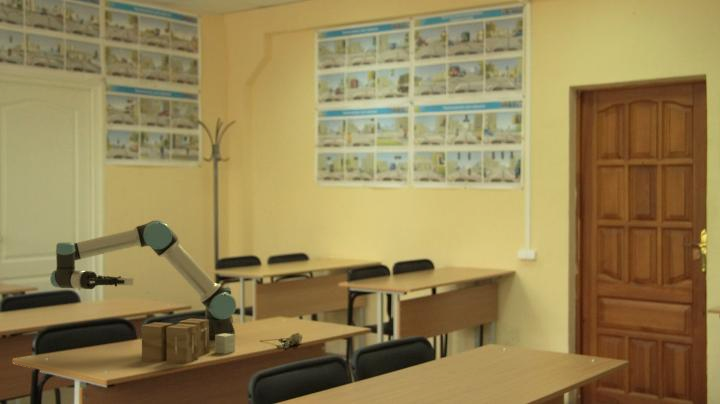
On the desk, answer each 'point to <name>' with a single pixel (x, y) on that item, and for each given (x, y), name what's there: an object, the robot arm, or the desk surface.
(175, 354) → the block one
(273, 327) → the desk surface
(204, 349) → the block seven
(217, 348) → the product box
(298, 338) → the toy
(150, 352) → the plain block
